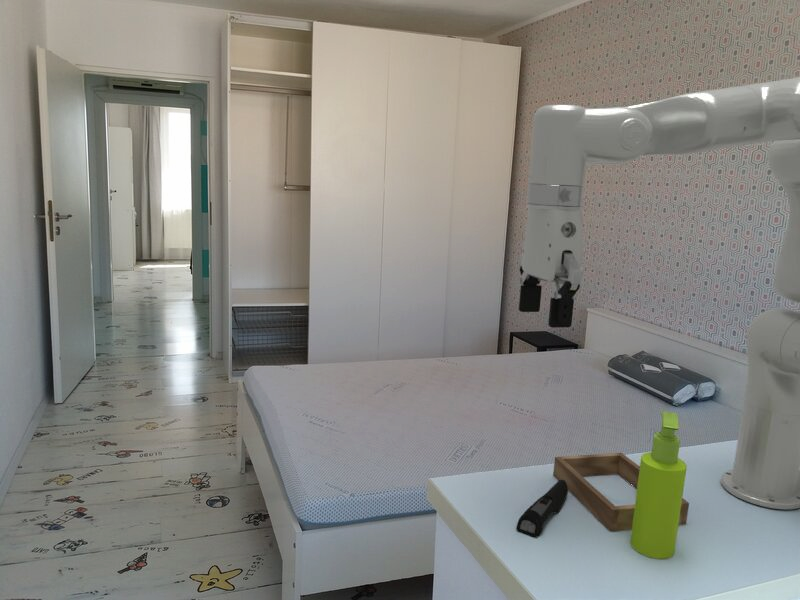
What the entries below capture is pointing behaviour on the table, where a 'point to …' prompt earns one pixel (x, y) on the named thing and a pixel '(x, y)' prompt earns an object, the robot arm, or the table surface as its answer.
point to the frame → (591, 497)
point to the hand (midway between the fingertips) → (543, 318)
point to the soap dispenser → (659, 494)
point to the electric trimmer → (542, 510)
